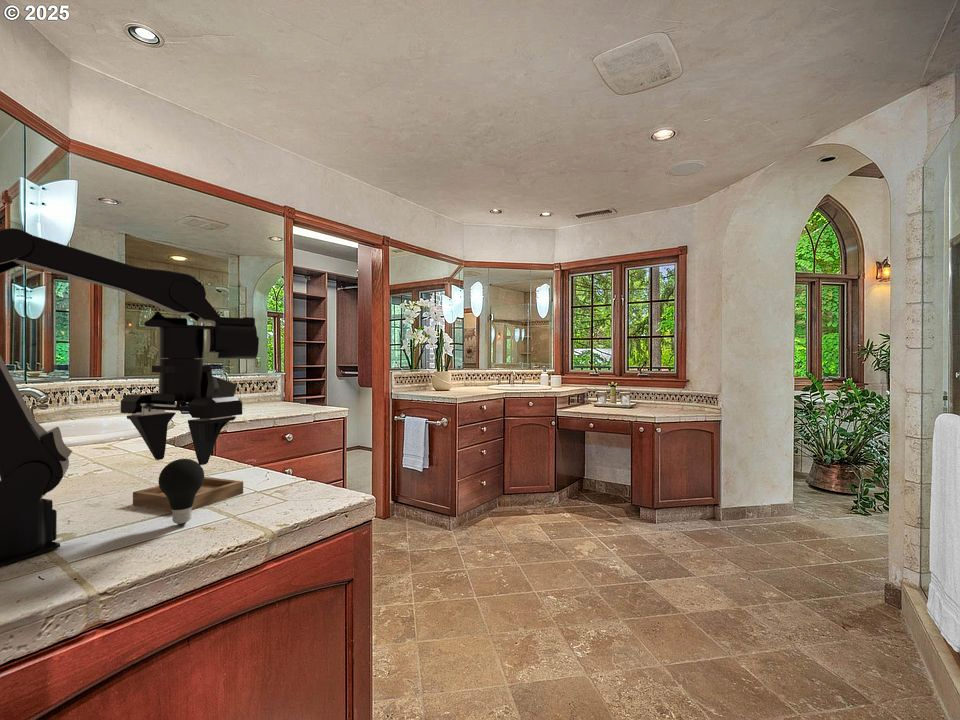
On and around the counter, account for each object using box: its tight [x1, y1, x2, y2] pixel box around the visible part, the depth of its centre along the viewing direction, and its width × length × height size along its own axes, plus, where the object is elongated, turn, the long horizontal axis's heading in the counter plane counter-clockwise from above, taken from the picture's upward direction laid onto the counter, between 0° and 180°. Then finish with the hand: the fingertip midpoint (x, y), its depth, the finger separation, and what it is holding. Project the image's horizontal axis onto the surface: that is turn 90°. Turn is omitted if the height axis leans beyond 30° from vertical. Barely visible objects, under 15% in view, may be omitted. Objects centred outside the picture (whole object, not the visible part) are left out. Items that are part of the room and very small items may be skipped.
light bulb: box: [158, 458, 205, 526], centre depth 71 cm, size 6×6×10 cm
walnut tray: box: [132, 476, 244, 512], centre depth 84 cm, size 12×12×2 cm
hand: (181, 461), depth 71 cm, fingers open, 9 cm apart
